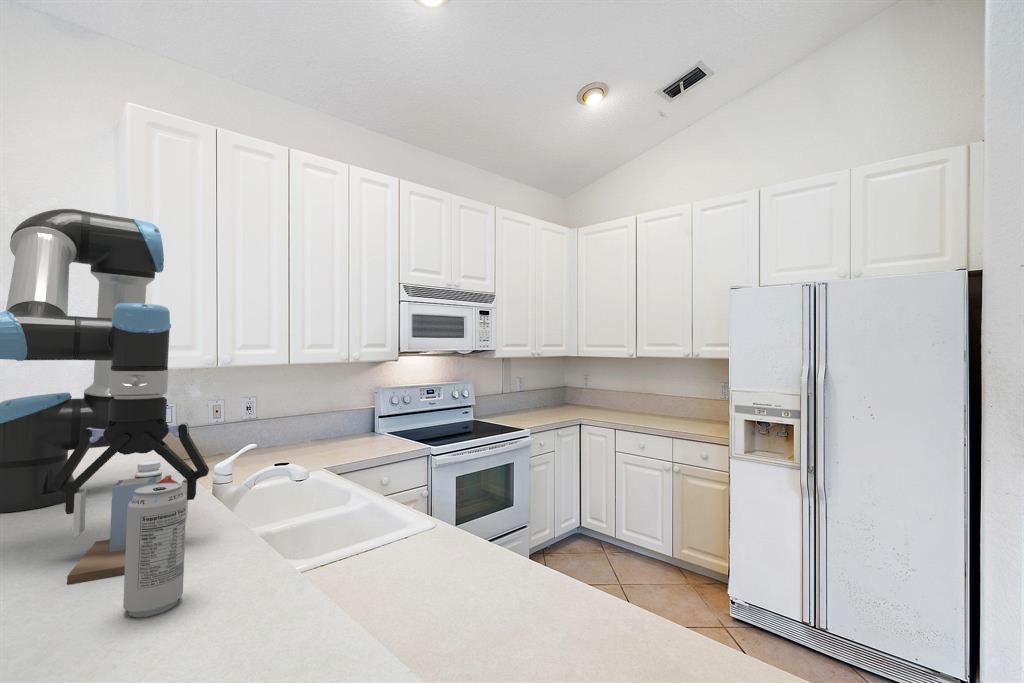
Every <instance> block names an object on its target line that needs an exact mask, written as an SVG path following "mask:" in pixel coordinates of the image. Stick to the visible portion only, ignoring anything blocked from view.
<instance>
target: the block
mask: <svg viewBox="0 0 1024 683" xmlns="http://www.w3.org/2000/svg"><path fill="white" fill-rule="evenodd" d="M152 484H157V477H149V478H138V479H135V478H129V479H120V480H118V481H117V482H116V483H115V484H114V485H113V486H112V488H111V504H110V505H111V507H110V509H111V510H110V529H109V530H110V531H109V534H110V535H109V539H110V551H109V552H113V551H119V550H126V531H127V508H128V504H129V502H130V501H131V499H132V498H133V496H134V495H135V493H134V491H135V490H136V489H137V488H140V487H143V486H147V485H152Z"/></svg>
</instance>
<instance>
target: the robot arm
mask: <svg viewBox="0 0 1024 683" xmlns="http://www.w3.org/2000/svg"><path fill="white" fill-rule="evenodd" d="M163 245H164V244H163V239H162V234H161V231H160V230H159V228H158V227H157V225H156V224H154V223H151V222H148V221H143V220H139V219H135V218H128V217H121V216H118V215H117V216H115V215H109V214H104V213H99V212H98V213H97V212H91V211H84V210H81V209H74V208H59V209H52V210H46V211H42V212H40V213H37V214H34V215H32V216H30V217H28V218H27V219H25V220H24V221H23V220H22V222H21V223H19V225H17V226H16V228H15V229H14V230H13V231H12V234H11V236H10V240H9V248H10V251H11V253H12V255H13V256H14V262H13V267H12V272H11V278H10V279H11V280H10V284H9V290H8V291H9V292H8V295H7V296H8V297H7V301H6V308H5V310H4V311H2V312H1V311H0V360H10V361H11V360H13V361H14V360H15V361H18V362H23V361H94V369H93V370H94V371H93V383H92V384H91V385H89V386H88V387H87V388H85V389H84V391H83V397H82V398H72V395H71V393H70V392H58V393H57V392H56V393H45V394H39V395H38V394H37V395H31V396H25V397H23V396H22V397H18V398H17V397H16V398H11V399H7V400H3V401H1V402H0V514H1V513H12V512H13V513H14V512H20V511H27V510H34V509H39V508H44V507H49V506H53V505H58V504H62V503H64V502H65V506H64V507H65V508H64V511H65V514H66V515H72V514H73V517H72V518H73V520H72V521H73V522H72V537H79V536H81V534H82V533H83V532H84V531H85V528H86V509H87V506H86V504H87V503H86V502H87V489H86V488H85V489H83V488H82V489H80V488H81V487H82V486H83V485H84V484H85V483H86V482H87V481H88V480H89V479H91V478H92V477H93V475H94V474H96V473H97V472H98V471H99V470H100V469H101V468H102V467H103V466H104V465H105V464H106V463H107V462H109V460H110V459H112V458H113V456H115V455H116V454H117V453H119V454H122V455H126V456H127V455H132V454H148V453H150V452H153V451H154V453H156V454H157V455H159V456H160V457H161V458H162V459H163V460H165V461H166V463H168V464H169V465H170V466H171V467H172V468H173V469H175V471H177V473H179V475H181V476H182V477H183V478H184V479H183V480H182V482H181V489H182V491H183V492H184V494H185V495H186V520H187V519H188V516H189V515H188V514H189V512H188V511H189V501H193V500H194V499H195V497H196V495H197V481H198V480H199V479H200V478H201V479H202V478H203V477H207V475H208V474H209V472H210V468H209V466H208V465H207V462H206V461H205V460H204V458H203V456H202V454H201V452H200V450H199V448H197V446H196V444H195V443H194V440H193V439H192V437H191V435H190V429H189V424H188V423H187V422H182V423H181V424H173V425H169V424H168V422H167V408H168V407H167V405H168V402H167V401H168V399H167V398H166V397H165V396H164V395H165V394H167V392H168V384H169V383H168V382H169V367H168V366H169V365H168V362H169V351H170V350H169V349H170V346H169V345H170V329H171V328H172V324H171V322H170V321H171V320H170V319H171V317H170V314H171V313H170V309H169V308H167V307H166V306H165V305H161V304H153V303H146V297H147V296H146V295H147V286H148V285H149V284H150V283H152V282H153V281H155V279H156V273H157V274H159V273H162V272H163V271H164V268H165V266H164V263H165V254H164V246H163ZM72 263H77V264H84V265H90V274H91V275H92V276H93V277H95V279H97V281H98V295H97V312H96V317H94V316H93V317H92V316H91V317H90V316H78V315H77V316H75V315H74V316H73V315H68V313H69V310H68V309H69V307H68V306H69V289H70V288H69V287H70V286H69V285H70V283H69V282H70V265H71V264H72ZM169 433H171V434H172V435H173V436H174V438H179V441H180V443H181V446H182V447H183V449H184V450H185V452H186V454H187V455H188V457H189V459H190V461H191V462H192V463H193V465H194V468H195V469H196V470H194V469H193V468H192V467H191V466H190V465H188V464H187V463H186V462H185V461H184V460H183V458H181V457H180V456H179V455H178V454H177V453H176V452H175V451H173V449H171V447H169V445H168V444H167V443H166V442H165V441H164V439H165V437H167V435H169ZM106 447H108V448H107V449H106V450H104V451H103V452H102V453H101V454H100V455H99V456H98V457H97V458H96V459H95V460H94V461H93V462H92V463H90V465H89V466H88V467H86V469H85V470H84V471H82V472H81V473H80V474H79V475H78V476H77V477H76V478H75V477H74V475H73V473H74V472H75V471H76V470H77V467H78V466H79V464H80V463H81V462H82V460H83V459H84V457H85V455H86V454H87V453H88V451H89V450H90V449H95V448H106ZM69 451H73V452H72V453H71V454H70V456H69Z"/></svg>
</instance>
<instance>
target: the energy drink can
mask: <svg viewBox="0 0 1024 683" xmlns="http://www.w3.org/2000/svg"><path fill="white" fill-rule="evenodd" d="M181 487H182V483H180V482H179V483H178V482H177V483H160V484H152V485H147V486H143V487H140V488H137V489H136V490H135V491H134V493H135V495H134V496H133V498H132V499H131V501H130V502H129V504H128V508H127V531H126V554H125V575H124V580H123V581H124V582H123V583H124V584H123V600H122V601H123V605H122V607H123V609H124V610H125V611H128V615H129V616H130V617H134V618H147V617H152V616H156V615H159V614H162V613H164V612H166V611H168V610H171V609H172V608H173V607H175V606H176V605H177V603H178V600H179V599H180V598H181V597H182V596H183V594H184V576H185V575H184V574H185V573H184V572H185V571H184V569H185V551H186V550H185V545H186V544H185V543H186V522H187V519H186V495H185V494H184V492H183V491H182V489H181Z"/></svg>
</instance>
